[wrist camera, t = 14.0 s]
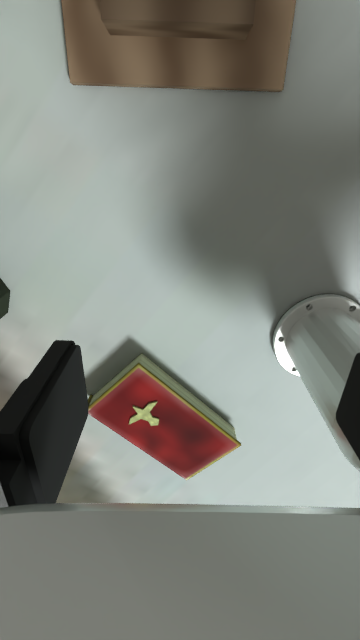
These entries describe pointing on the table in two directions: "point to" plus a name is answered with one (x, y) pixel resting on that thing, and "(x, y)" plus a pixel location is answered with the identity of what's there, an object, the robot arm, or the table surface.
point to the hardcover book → (163, 418)
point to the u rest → (179, 43)
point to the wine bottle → (4, 299)
